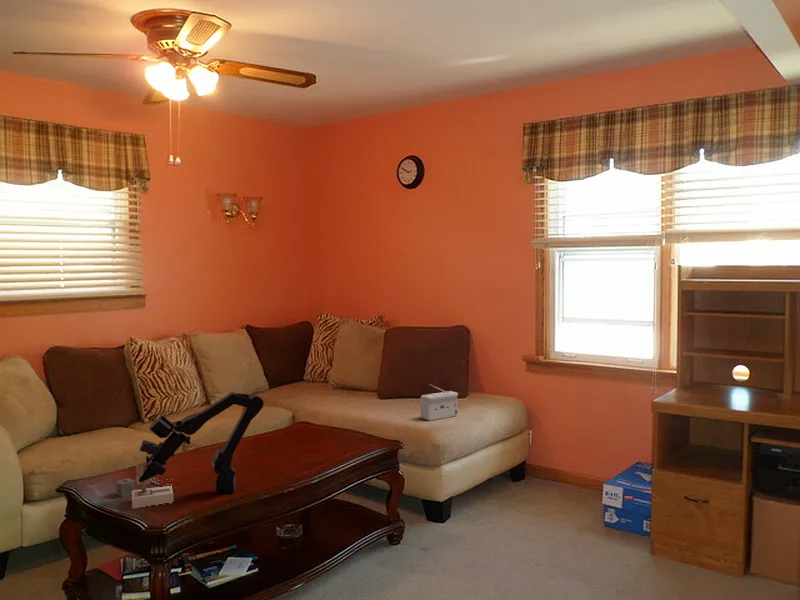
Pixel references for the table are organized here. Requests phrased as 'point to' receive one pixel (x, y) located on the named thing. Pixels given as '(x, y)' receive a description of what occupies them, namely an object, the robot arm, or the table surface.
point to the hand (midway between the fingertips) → (139, 479)
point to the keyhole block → (153, 497)
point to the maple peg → (139, 471)
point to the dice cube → (125, 487)
